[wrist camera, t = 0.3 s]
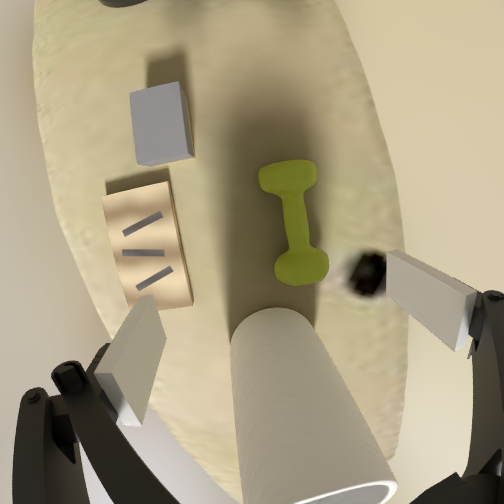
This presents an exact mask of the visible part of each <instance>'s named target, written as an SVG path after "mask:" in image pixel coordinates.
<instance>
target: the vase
mask: <svg viewBox="0 0 504 504" xmlns="http://www.w3.org/2000/svg"><path fill="white" fill-rule="evenodd" d="M230 367H231V381H232V393H233V405H234V417H235V428H236V439H237V449H238V459H239V468H240V477H241V485H242V493H243V501H244V504H384V503H385V502H386V501H388V500H389V499H390V498H391V497H392V496H393V494H394V493H395V492H396V490H397V488H398V483H397V481H396V479H395V477H394V475H393V473H392V472H391V469H390V467H389V465H388V463H387V461H386V459H385V457H384V455H383V453H382V451H381V449H380V448H379V446H378V444H377V442H376V440H375V438H374V436H373V434H372V432H371V430H370V429H369V427H368V425H367V423H366V421H365V419H364V417H363V415H362V414H361V412H360V410H359V408H358V406H357V404H356V402H355V401H354V399H353V397H352V395H351V393H350V391H349V390H348V388H347V386H346V384H345V382H344V381H343V379H342V377H341V375H340V373H339V372H338V370H337V368H336V366H335V364H334V363H333V361H332V359H331V357H330V355H329V353H328V352H327V350H326V348H325V346H324V345H323V343H322V341H321V339H320V338H319V336H318V334H317V333H316V331H315V330H314V328H313V327H312V325H311V324H310V322H309V321H308V320H307V319H306V318H305V317H304V316H302V315H301V314H300V313H298V312H296V311H294V310H291V309H287V308H276V307H275V308H267V309H263V310H260V311H257V312H255V313H253V314H251V315H250V316H248V317H247V318H245V319H244V320H243V321H242V322H241V323H240V324H239V325H238V327H237V328H236V330H235V331H234V334H233V336H232V340H231V346H230Z"/></svg>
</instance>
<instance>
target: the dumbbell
mask: <svg viewBox="0 0 504 504" xmlns="http://www.w3.org/2000/svg"><path fill="white" fill-rule="evenodd" d="M258 178H259V183H260V187H261V188H262V190H264V191H265V192H268V193H272V194H276V195H278V196H279V197H280V198H281V200H282V208H283V218H284V225H285V230H286V235H287V239H288V243H289V250H288V251H286V252H284V253H283V254H282V255H281V256H280V257H279V258H278V259H277V260H276V262H275V264H274V271H275V277H276V279H277V280H279V281H280V282H283V283H286V284H289V285H292V286H304V285H308V284H312V283H316V282H319V281H321V280H322V279H324V278H325V276H326V275H327V272H328V270H329V259H328V255H327V254H326V253H325V252H324V251H322V250H319V249H316V248H313V247H312V246H311V245H310V242H309V227H308V219H307V213H306V208H305V204H304V200H303V195H304V192H305V191H306V190H307V189H308V188H310V187H311V186H313V185H314V184H315V183H316V181H317V178H318V174H317V167H316V165H315V163H314V162H312V161H309V160H301V159H295V160H287V161H281V162H277V163H273V164H270V165H267V166H264V167H263V168H261V169H260V171H259V172H258Z"/></svg>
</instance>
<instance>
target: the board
mask: <svg viewBox="0 0 504 504" xmlns="http://www.w3.org/2000/svg"><path fill="white" fill-rule="evenodd" d="M101 198H102V203H103V209H104V214H105V219H106V224H107V228H108V233H109V237H110V242H111V246H112V250H113V254H114V258H115V262H116V266H117V269H118V273H119V277H120V280H121V284H122V287H123V290H124V294H125V297H126V300H127V303H128V307H129V310H130V311H131V309H132V308H133V306H134V305H135V303H136V302H137V300H138V298H139V297H140V296H146V295H153V297H154V301H155V304H156V307H157V310H166V309H173V308H180V307H187V306H193V302H194V299H193V295H192V290H191V286H190V282H189V277H188V273H187V268H186V264H185V259H184V254H183V249H182V245H181V240H180V235H179V229H178V224H177V219H176V214H175V208H174V202H173V197H172V191H171V185H170V181H166V182H162V183H157V184H152V185H148V186H143V187H139V188H135V189H130V190H126V191H122V192H118V193H114V194H110V195H106V196H103V197H101Z"/></svg>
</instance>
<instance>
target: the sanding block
mask: <svg viewBox="0 0 504 504" xmlns="http://www.w3.org/2000/svg"><path fill="white" fill-rule="evenodd" d="M130 105H131V116H132V126H133V135H134V143H135V151H136V159H137V164H138V165H145V166H151V167H155V166H160V165H165V164H169V163H174V162H179V161H184V160H189V159H195V154H194V147H193V140H192V133H191V126H190V118H189V110H188V102H187V98H186V95H185V93H184V91H183V89H182V87H181V85H180V83H179V81H176V82H172V83H167V84H163V85H158V86H154V87H150V88H146V89H143V90H139V91H135V92H132V93H130Z"/></svg>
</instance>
